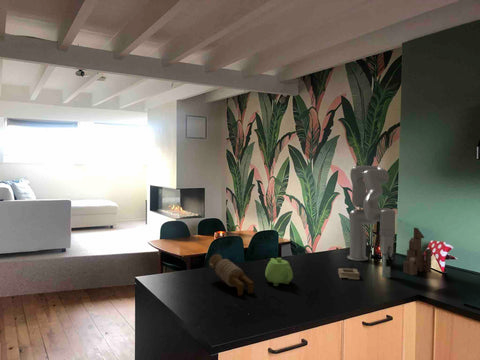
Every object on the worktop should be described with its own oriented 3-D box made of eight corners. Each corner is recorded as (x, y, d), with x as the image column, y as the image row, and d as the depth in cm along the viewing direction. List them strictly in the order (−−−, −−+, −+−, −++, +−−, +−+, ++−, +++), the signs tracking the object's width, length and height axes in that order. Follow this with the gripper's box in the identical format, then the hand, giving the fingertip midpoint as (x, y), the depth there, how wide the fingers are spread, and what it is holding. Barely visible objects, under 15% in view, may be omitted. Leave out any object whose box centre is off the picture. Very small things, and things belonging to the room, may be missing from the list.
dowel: (381, 275, 215) (381, 253, 215) (389, 276, 215) (389, 254, 215) (383, 277, 211) (383, 255, 211) (390, 278, 211) (391, 255, 211)
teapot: (300, 287, 194) (300, 261, 193) (275, 290, 189) (275, 264, 189) (282, 276, 213) (282, 253, 212) (259, 278, 208) (259, 254, 208)
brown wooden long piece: (253, 300, 186) (222, 272, 210) (256, 276, 183) (224, 251, 208) (235, 304, 180) (205, 275, 205) (238, 279, 178) (208, 253, 203)
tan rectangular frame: (338, 273, 219) (338, 268, 219) (356, 274, 218) (356, 268, 218) (340, 278, 209) (340, 272, 209) (359, 279, 208) (359, 273, 208)
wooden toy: (413, 275, 216) (414, 230, 215) (403, 272, 222) (404, 228, 221) (432, 272, 223) (433, 228, 222) (422, 269, 229) (423, 226, 228)
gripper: (376, 230, 221) (375, 260, 222) (384, 234, 204) (383, 268, 204) (390, 230, 220) (389, 261, 221) (399, 235, 203) (398, 268, 204)
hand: (386, 264), depth 213 cm, fingers open, 9 cm apart
